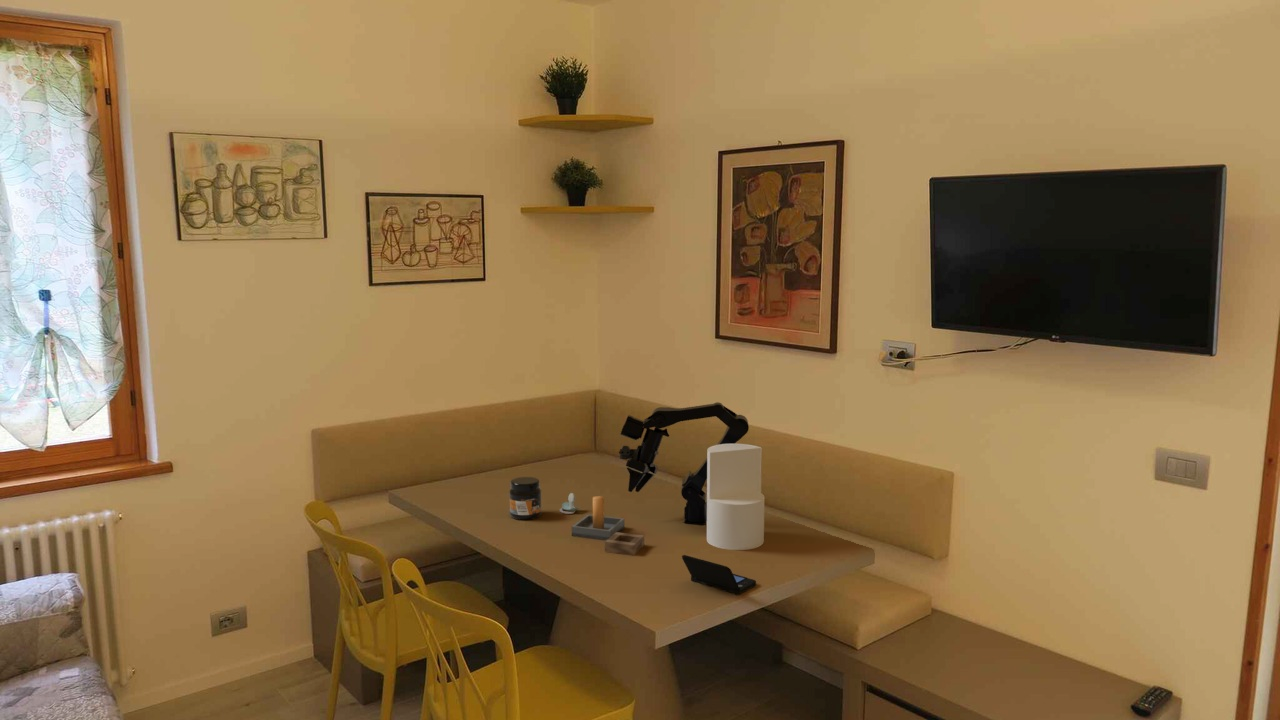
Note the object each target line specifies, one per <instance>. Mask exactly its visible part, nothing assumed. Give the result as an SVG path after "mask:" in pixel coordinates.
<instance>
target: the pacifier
mask: <svg viewBox="0 0 1280 720" xmlns="http://www.w3.org/2000/svg"><path fill="white" fill-rule="evenodd" d="M567 499H568V501H565V502H563V503H562V504H561V508H559V512H560V513H562V514H565V515H572V514H574V513H576V511H577V510H578V509H581V506H578V507H575V505H574V504H575V500H576V495H575V493H573V492H570V493H569V495H568V498H567ZM567 511H568V512H567Z"/></svg>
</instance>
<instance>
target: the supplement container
mask: <svg viewBox="0 0 1280 720" xmlns="http://www.w3.org/2000/svg"><path fill="white" fill-rule="evenodd" d="M509 481H510V482H509V483H510V488H509V491H508V494H509V495H508V496H509V515H510V517H511V518H513V519H515V520H519V519H522V520H521V521H523V520H525V521H526V520H527V519H529V520H533V518H534V519H536V518H538V517H540V516H541V514H542V489H541V487H540V479H539V478H537V477H533V476H519V477H514V478H512V479H511V480H509ZM527 521H528V520H527Z"/></svg>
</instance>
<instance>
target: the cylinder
mask: <svg viewBox="0 0 1280 720" xmlns="http://www.w3.org/2000/svg"><path fill="white" fill-rule="evenodd" d="M706 452H707V457H706V458H707V479H706V502H707V522H706V542H707V543H708V544H709V545H711V546H713V547H715V548H718V549H724V550H729V551H746V550H752V549H757V548H759V547H761V546H762V545H763V544H764V542H765V540H764V539H765V495H764V494H763V493H762V463H763V462H762V459H763V458H762V457H763V455H762V454H763V450H762V447H761V446H758V445H753V444H747V443H735V444H719V445H717V444H715V445H711V446H709V447H708V448H707V451H706Z"/></svg>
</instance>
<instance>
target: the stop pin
mask: <svg viewBox="0 0 1280 720" xmlns="http://www.w3.org/2000/svg"><path fill="white" fill-rule="evenodd" d="M592 515H593V528H595V529H604V516H605V497H604V496H602V495H597V496H596V495H595V496H592Z"/></svg>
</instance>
